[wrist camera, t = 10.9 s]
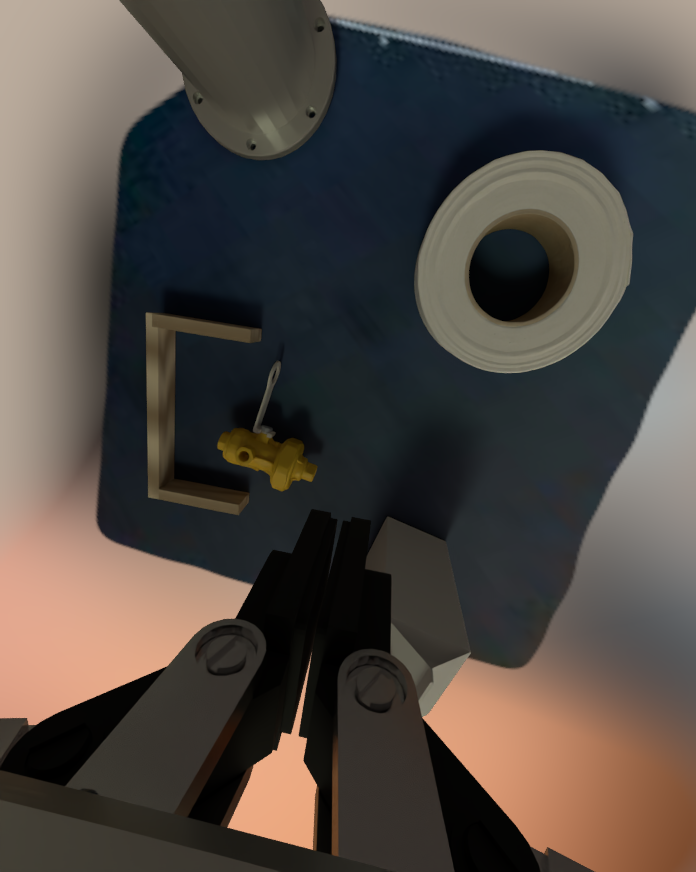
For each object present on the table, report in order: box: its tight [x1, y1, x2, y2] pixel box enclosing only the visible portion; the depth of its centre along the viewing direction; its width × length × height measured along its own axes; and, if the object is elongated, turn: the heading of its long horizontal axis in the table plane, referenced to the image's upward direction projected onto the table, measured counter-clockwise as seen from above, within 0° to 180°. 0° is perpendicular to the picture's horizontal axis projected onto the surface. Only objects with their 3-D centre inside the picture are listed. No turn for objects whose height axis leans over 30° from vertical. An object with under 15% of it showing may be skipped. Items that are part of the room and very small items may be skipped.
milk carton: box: [365, 517, 471, 717], centre depth 34 cm, size 7×7×19 cm
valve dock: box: [146, 313, 262, 515], centre depth 40 cm, size 19×10×3 cm, turn 171°
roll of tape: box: [414, 150, 633, 373], centre depth 32 cm, size 16×16×6 cm
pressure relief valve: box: [218, 361, 317, 491], centre depth 38 cm, size 6×12×10 cm
